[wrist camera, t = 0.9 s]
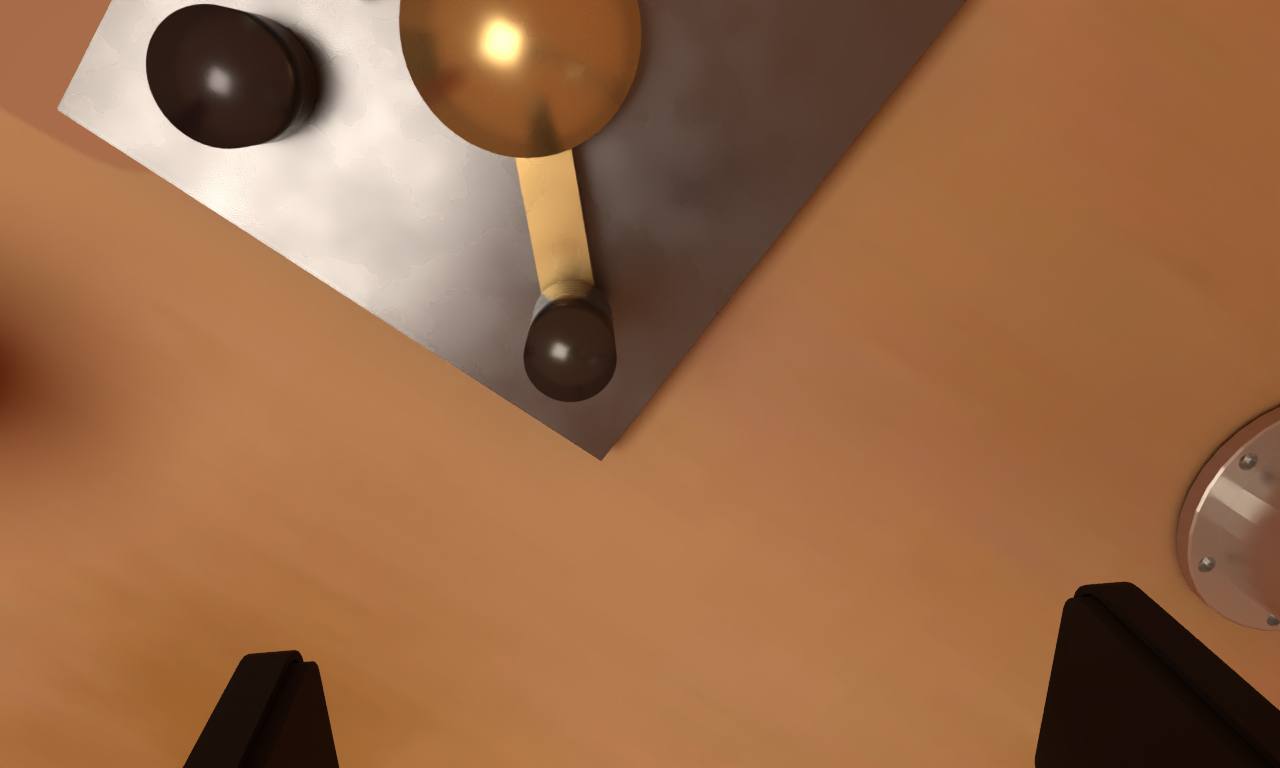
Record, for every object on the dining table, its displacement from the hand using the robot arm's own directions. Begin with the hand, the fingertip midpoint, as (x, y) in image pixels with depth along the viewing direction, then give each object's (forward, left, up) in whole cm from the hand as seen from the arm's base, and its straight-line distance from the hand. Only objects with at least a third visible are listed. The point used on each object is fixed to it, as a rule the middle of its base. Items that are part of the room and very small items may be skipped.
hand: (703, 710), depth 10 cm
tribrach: (+8, -5, -25) cm, 27 cm away
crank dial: (+5, -3, -23) cm, 24 cm away
